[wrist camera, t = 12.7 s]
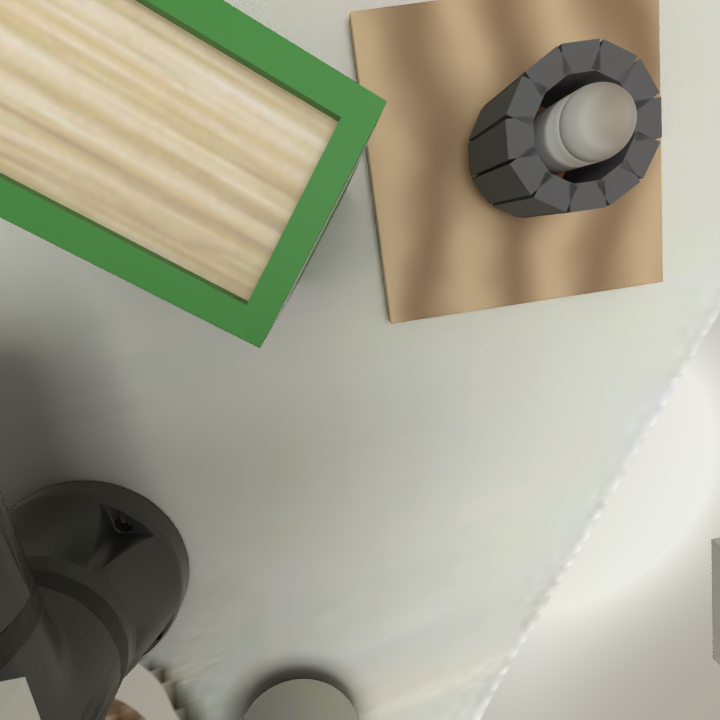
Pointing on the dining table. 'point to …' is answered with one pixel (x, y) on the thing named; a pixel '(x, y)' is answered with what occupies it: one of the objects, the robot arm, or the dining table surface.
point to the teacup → (302, 702)
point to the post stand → (451, 138)
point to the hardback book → (176, 148)
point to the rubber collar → (517, 145)
